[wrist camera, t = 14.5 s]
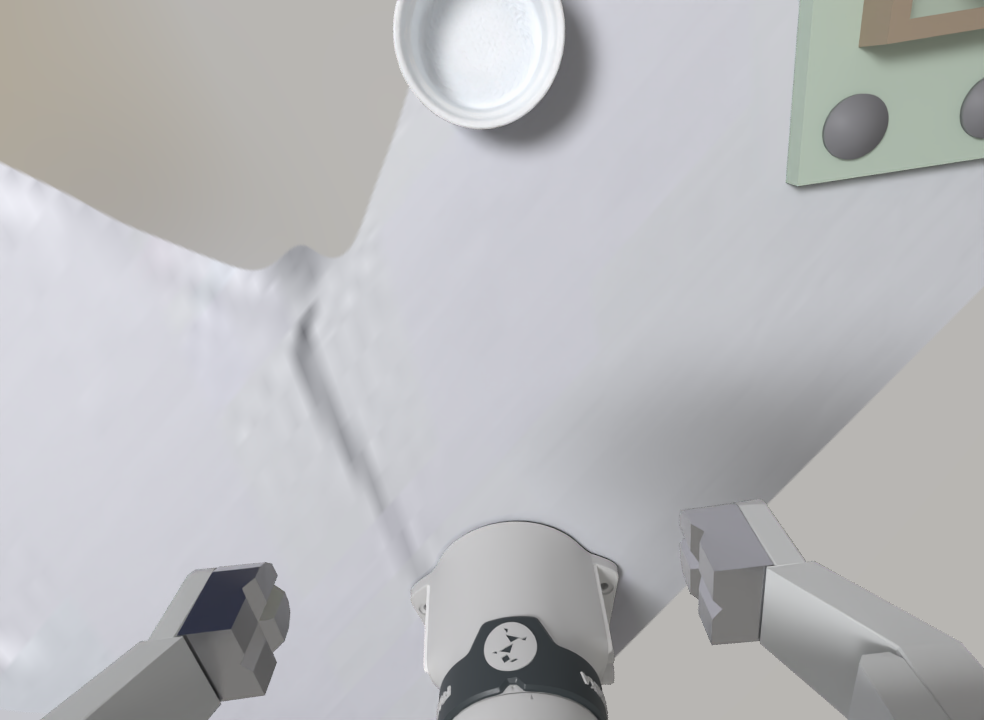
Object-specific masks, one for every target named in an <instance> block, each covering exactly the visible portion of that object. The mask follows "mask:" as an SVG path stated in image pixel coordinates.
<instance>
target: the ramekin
mask: <svg viewBox="0 0 984 720" xmlns="http://www.w3.org/2000/svg"><path fill="white" fill-rule="evenodd" d="M393 40H394V48H395V53H396V57H397V61H398V64H399V67H400V69H401V72H402V74H403V77H404V79H405V80H406V82H407V84H408V86H409V87H410V89H411V90H412V92H413V93H414V94H415V96H416V97H417V98H418V99H419V100H420V102H421V103H422V104H423V105H424V106H425V107H427V108H428V109H429V110H430V111H431V112H433V113H434V114H435V115H437V116H438V117H440V118H442V119H444V120H445V121H447V122H449V123H452V124H454V125H457V126H461V127H465V128H470V129H480V130H481V129H493V128H497V127H501V126H504V125H507V124H510V123H512V122H514V121H516V120H518V119H520V118H521V117H523V116H524V115H526V114H527V113H528V112H530V111H531V110H532V109H533V108H534V107H535V106H536V105H537V104H538V103H539V102H540V101H541V100H542V99H543V97H544V96H545V95H546V93H547V92H548V90H549V89H550V87H551V85H552V83H553V81H554V79H555V77H556V75H557V72H558V70H559V67H560V64H561V60H562V57H563V51H564V45H565V18H564V11H563V6H562V2H561V0H397V2H396V7H395V13H394V21H393Z"/></svg>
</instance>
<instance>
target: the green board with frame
mask: <svg viewBox="0 0 984 720" xmlns="http://www.w3.org/2000/svg"><path fill="white" fill-rule="evenodd" d="M980 158H984V0H800V6H799V19H798V32H797V45H796V58H795V71H794V84H793V97H792V110H791V123H790V136H789V149H788V162H787V175H786V183H789V184H792V185H795V186H802V185H809V184H816V183H822V182H829V181H835V180H842V179H849V178H855V177H862V176H868V175H875V174H881V173H888V172H895V171H901V170H908V169H914V168H921V167H928V166H934V165H941V164H947V163H954V162H960V161H967V160H974V159H980Z"/></svg>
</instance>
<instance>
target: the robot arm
mask: <svg viewBox="0 0 984 720" xmlns="http://www.w3.org/2000/svg"><path fill="white" fill-rule="evenodd" d="M679 526H680V528H681V531H682V533H683V535H684V539H683V540H682V541H681V542H680V559H681V565H682V571H683V574H684V578H685V581H686V584H687V586H688V589H689V591H690V594H692V595H693V596H694V597H696V598H697V599H699V615H700V618H701V620H702V623H703V625H704V627H705V630H706V632H707V635H708V637H709V640H710V642H711V644H712V645H718V644H728V643H741V642H753V641H760V644H761V645H762V646H764V647H765V648H766V649H767V650H768V651H769V652H771V653H772V654H773V655H774V656H775V657H776V658H778V659H779V660H780V661H781V662H782V663H783V664H784V665H786V666H787V667H788V668H789V669H790V670H791V671H793V672H794V673H795V674H796V675H797V676H798V677H800V678H801V679H802V680H803V681H804V682H805V683H807V684H808V685H809V686H810V687H811V688H812V689H814V690H815V691H816V692H817V693H818V694H819V695H821V696H822V697H823V698H824V699H825V700H826V701H827V702H829V703H830V704H831V705H832V706H833V707H834V708H836V709H837V710H838V711H839V712H840V713H842V714H843V715H844V716H845V717H846V718H847V719H848V720H984V668H983V667H982V666H981V664H980V663H979V662H978V661H977V660H976V659H975V657H974V656H973V655H972V654H971V653H970V652H969V651H968V649H967V648H966V647H965V646H964V645H963V644H962V642H960V641H958V640H957V639H955V638H953V637H951V636H949V635H947V634H946V633H944V632H942V631H940V630H938V629H937V628H935V627H933V626H931V625H929V624H928V623H926V622H924V621H922V620H920V619H919V618H917V617H915V616H913V615H911V614H909V613H908V612H906V611H904V610H902V609H900V608H899V607H897V606H895V605H893V604H891V603H890V602H888V601H886V600H884V599H882V598H881V597H879V596H877V595H875V594H873V593H872V592H870V591H868V590H866V589H864V588H863V587H861V586H859V585H857V584H855V583H853V582H852V581H850V580H848V579H846V578H844V577H843V576H841V575H839V574H837V573H835V572H833V571H832V570H830V569H828V568H826V567H825V566H823V565H821V564H819V563H817V562H816V561H811V562H806V561H805V559H804V558H803V556H802V555H801V553H800V552H799V551H798V549H797V548H796V546H795V545H794V543H793V542H792V540H791V539H790V537H789V536H788V535H787V533H786V532H785V530H784V529H783V527H782V526H781V524H780V523H779V522H778V520H777V519H776V517H775V516H774V514H773V513H772V511H771V510H770V509H769V507H768V506H767V504H766V503H765V502H764V501H763V500H761V499H756V500H749V501H742V502H735V503H733V504H732V503H729V504H722V505H714V506H707V507H700V508H692V509H685V510H681V512H680V522H679ZM277 576H278V575H277V573H276V571H275V569H274V567H273V565H272V564H271V563H267V562H263V563H253V564H243V565H233V566H223V567H218V568H209V569H197V570H194V571H193V572H191V573H190V574H188V575H187V577H186V579H185V580H184V582H183V584H182V585H181V587H180V588H179V590H178V592H177V593H176V595H175V597H174V598H173V600H172V602H171V603H170V605H169V606H168V608H167V610H166V611H165V613H164V615H163V616H162V618H161V619H160V621H159V623H158V624H157V626H156V628H155V629H154V631H153V633H152V634H151V636H150V637H149V639H148V640H147V641H140V642H139V643H137V644H136V645H135V646H134V647H132V648H131V649H130V650H128V651H127V652H126V653H125V654H123V655H122V656H121V657H120V658H118V659H117V660H116V661H114V662H113V663H112V664H111V665H109V666H108V667H107V668H105V669H104V670H103V671H102V672H100V673H99V674H98V675H97V676H95V677H94V678H93V679H91V680H90V681H89V682H88V683H86V684H85V685H84V686H83V687H81V688H80V689H79V690H77V691H76V692H75V693H74V694H72V695H71V696H70V697H68V698H67V699H66V700H65V701H63V702H62V703H61V704H60V705H58V706H57V707H56V708H54V709H53V710H52V711H51V712H49V713H48V714H47V715H46V716H44V717H43V718H42V719H41V720H208V719H209V718H210V717H211V715H212V714H213V713H214V712H215V711H216V710H217V708H218V707H219V706H220V705H221V702H222V701H229V700H236V699H242V698H249V697H256V696H263V695H265V693H266V691H267V688H268V685H269V682H270V680H271V677H272V674H273V671H274V669H275V666H276V663H277V662H276V659H275V657H274V654H273V652H274V651H275V650H276V649H277V648H278V647H279V646H280V645H281V644H282V643H283V642H284V641H285V638H286V635H287V632H288V629H289V620H290V608H289V602H288V599H287V596H286V594H285V592H284V591H283V590H281V589H280V588H278V587H277V586H275V585H274V583H275V581H276V578H277ZM618 577H619V576H618V569H617V566H616V564H614V563H613V562H612V561H610V560H607V559H605V558H602V557H600V556H597V555H594V554H591V553H589V552H587V551H586V550H585V549H583V548H582V547H581V546H580V545H579V544H578V543H577V542H576V541H574V540H573V539H572V538H571V537H569V536H567V535H566V534H564V533H562V532H560V531H558V530H556V529H554V528H551V527H548V526H545V525H541V524H536V523H530V522H502V523H496V524H491V525H487V526H484V527H481V528H478V529H476V530H473V531H471V532H469V533H467V534H465V535H464V536H462V537H461V538H459V539H458V540H456V541H455V542H454V543H453V544H452V545H450V546H449V548H448V549H447V550H446V551H445V552H444V553H443V555H442V556H441V558H440V560H439V561H438V563H437V565H436V567H435V568H434V570H433V571H432V572H431V573H430V574H428V575H427V576H425V577H424V578H422V579H421V580H420V581H418V582H417V583H416V584H415V585H414V586H413V587H412V589H411V603H412V605H413V606H414V608H415V610H416V611H417V613H418V615H419V616H420V618H421V620H422V622H423V623H424V625H425V638H424V671H425V672H426V673H428V674H429V676H430V678H431V680H432V682H433V683H434V685H435V686H436V687H437V688H438V689H439V690H440V694H439V703H438V708H437V720H608V715H607V714H608V711H607V705H606V701H605V697H604V695H603V692H602V687H601V684H612V683H614V666H613V663H614V649H613V646H612V640H611V635H610V630H609V624H610V619H611V614H612V609H613V604H614V599H615V594H616V589H617V584H618ZM602 583H603V584H602Z"/></svg>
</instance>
